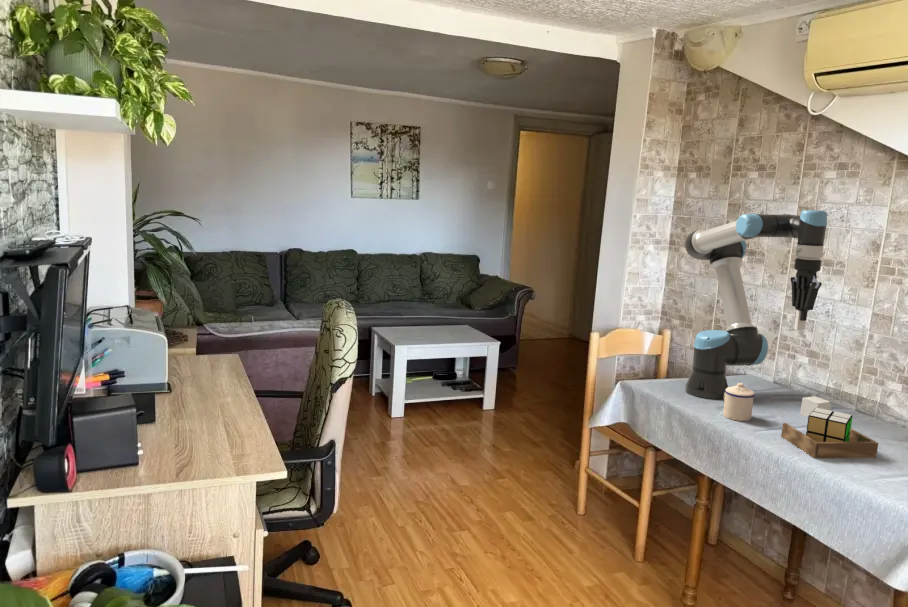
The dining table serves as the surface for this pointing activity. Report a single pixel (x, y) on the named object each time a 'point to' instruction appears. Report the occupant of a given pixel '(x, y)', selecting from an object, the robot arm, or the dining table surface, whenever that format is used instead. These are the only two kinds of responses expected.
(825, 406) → the cream white cube
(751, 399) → the teacup with lid
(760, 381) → the dining table surface
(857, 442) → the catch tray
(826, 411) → the puzzle cube
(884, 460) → the dining table surface
